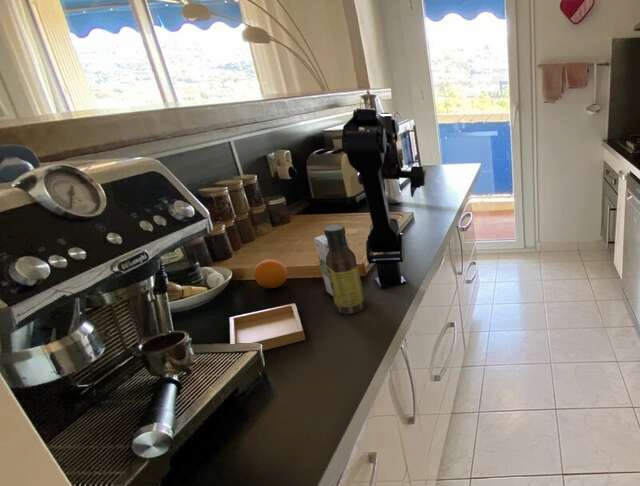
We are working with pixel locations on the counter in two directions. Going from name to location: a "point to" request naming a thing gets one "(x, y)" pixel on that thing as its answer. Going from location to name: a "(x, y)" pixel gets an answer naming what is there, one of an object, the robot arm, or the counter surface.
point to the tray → (268, 327)
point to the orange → (270, 273)
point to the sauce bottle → (343, 272)
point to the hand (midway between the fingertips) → (397, 195)
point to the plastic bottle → (392, 191)
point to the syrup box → (324, 259)
